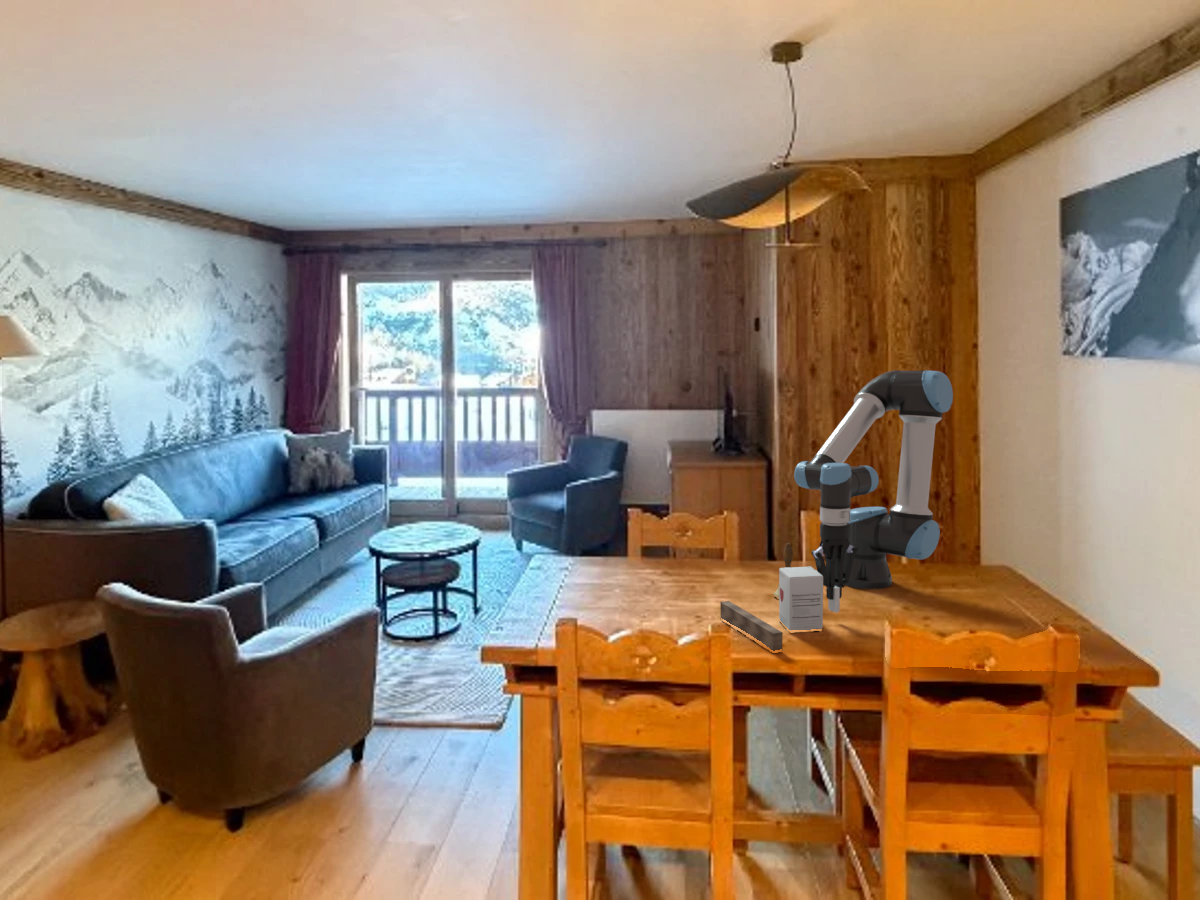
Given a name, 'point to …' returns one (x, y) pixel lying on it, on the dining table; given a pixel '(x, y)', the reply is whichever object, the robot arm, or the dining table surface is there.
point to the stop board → (752, 625)
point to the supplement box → (801, 598)
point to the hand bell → (786, 561)
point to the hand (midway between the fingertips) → (833, 610)
